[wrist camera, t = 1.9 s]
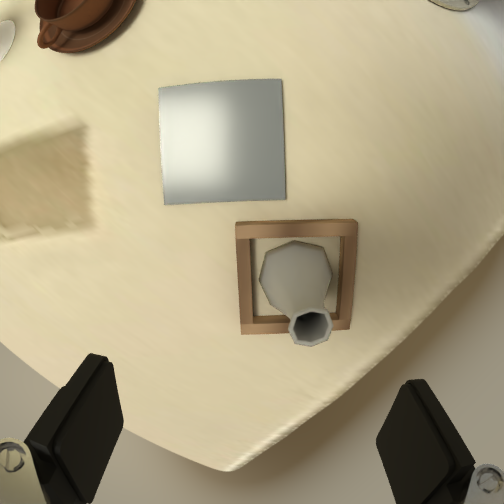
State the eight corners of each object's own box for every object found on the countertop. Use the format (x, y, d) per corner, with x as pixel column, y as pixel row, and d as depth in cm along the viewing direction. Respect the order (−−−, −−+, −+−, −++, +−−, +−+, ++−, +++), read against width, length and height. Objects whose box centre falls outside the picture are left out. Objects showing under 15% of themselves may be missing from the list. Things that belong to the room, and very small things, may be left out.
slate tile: (280, 80, 26) (281, 78, 25) (284, 198, 29) (285, 199, 28) (160, 89, 26) (158, 87, 25) (166, 204, 29) (164, 205, 29)
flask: (331, 304, 32) (357, 362, 23) (261, 311, 32) (263, 373, 23) (331, 236, 30) (363, 274, 20) (255, 243, 30) (254, 285, 21)
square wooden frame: (352, 219, 29) (358, 222, 28) (345, 321, 33) (349, 329, 31) (236, 221, 30) (234, 225, 28) (241, 326, 33) (241, 334, 31)
